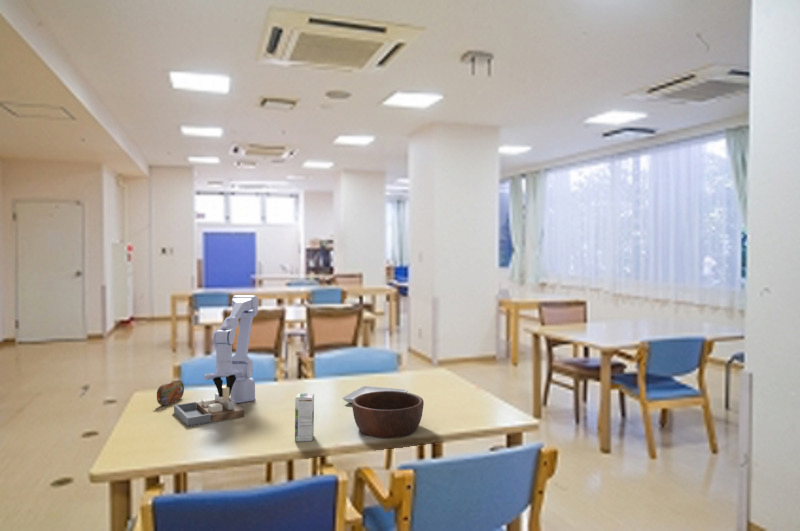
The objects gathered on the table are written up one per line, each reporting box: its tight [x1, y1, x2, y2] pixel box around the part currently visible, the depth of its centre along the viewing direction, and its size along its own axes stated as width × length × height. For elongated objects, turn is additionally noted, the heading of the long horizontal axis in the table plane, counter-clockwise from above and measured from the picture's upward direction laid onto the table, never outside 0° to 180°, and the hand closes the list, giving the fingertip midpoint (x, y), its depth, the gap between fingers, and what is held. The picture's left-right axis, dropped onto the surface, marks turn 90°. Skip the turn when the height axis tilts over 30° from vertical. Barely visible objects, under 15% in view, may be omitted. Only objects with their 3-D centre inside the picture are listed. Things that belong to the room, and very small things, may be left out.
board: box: [196, 401, 245, 423], centre depth 205 cm, size 12×20×2 cm, turn 36°
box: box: [173, 401, 212, 427], centre depth 199 cm, size 8×20×3 cm, turn 36°
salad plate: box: [342, 385, 409, 404], centre depth 222 cm, size 21×21×3 cm
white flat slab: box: [214, 384, 236, 410], centre depth 206 cm, size 2×16×7 cm, turn 36°
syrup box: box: [294, 392, 315, 442], centre depth 177 cm, size 6×6×14 cm
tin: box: [156, 379, 185, 406], centre depth 219 cm, size 15×3×8 cm, turn 168°
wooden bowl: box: [351, 391, 425, 439], centre depth 187 cm, size 25×25×10 cm
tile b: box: [208, 403, 222, 413], centre depth 200 cm, size 4×4×2 cm
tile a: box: [200, 397, 215, 407], centre depth 207 cm, size 4×4×2 cm
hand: (224, 395), depth 206 cm, fingers closed on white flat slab, 2 cm apart
